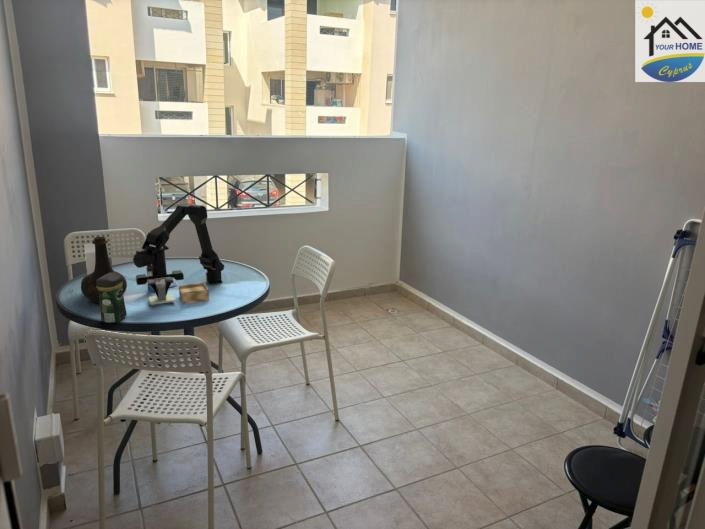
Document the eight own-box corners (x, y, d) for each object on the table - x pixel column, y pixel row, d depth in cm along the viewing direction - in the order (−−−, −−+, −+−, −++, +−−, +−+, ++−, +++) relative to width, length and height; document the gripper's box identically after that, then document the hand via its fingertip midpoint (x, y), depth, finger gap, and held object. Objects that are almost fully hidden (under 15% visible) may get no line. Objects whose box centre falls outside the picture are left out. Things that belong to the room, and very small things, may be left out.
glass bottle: (79, 297, 225) (70, 235, 217) (122, 289, 236) (115, 230, 228) (87, 310, 212) (79, 244, 204) (133, 301, 222) (126, 239, 214)
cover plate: (172, 295, 227) (171, 281, 225) (175, 301, 221) (174, 287, 219) (148, 298, 223) (147, 284, 221) (150, 304, 216) (149, 290, 214)
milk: (104, 291, 233) (99, 244, 226) (89, 293, 231) (83, 245, 224) (104, 287, 238) (99, 241, 232) (90, 288, 236) (84, 242, 229)
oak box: (204, 293, 235) (203, 282, 233) (209, 300, 226) (208, 289, 225) (179, 296, 230) (178, 285, 228) (183, 304, 221) (182, 292, 220)
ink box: (157, 292, 234) (155, 267, 231) (147, 291, 235) (145, 266, 231) (167, 286, 242) (165, 262, 239) (158, 285, 243) (155, 261, 239)
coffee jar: (111, 313, 209) (105, 270, 204) (129, 315, 209) (125, 271, 203) (97, 323, 200) (91, 278, 195) (117, 324, 199) (111, 279, 194)
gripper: (178, 254, 228) (181, 287, 232) (132, 258, 219) (136, 293, 224) (182, 261, 218) (185, 295, 223) (135, 266, 210) (139, 301, 215)
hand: (161, 296), depth 221 cm, fingers closed on cover plate, 3 cm apart
